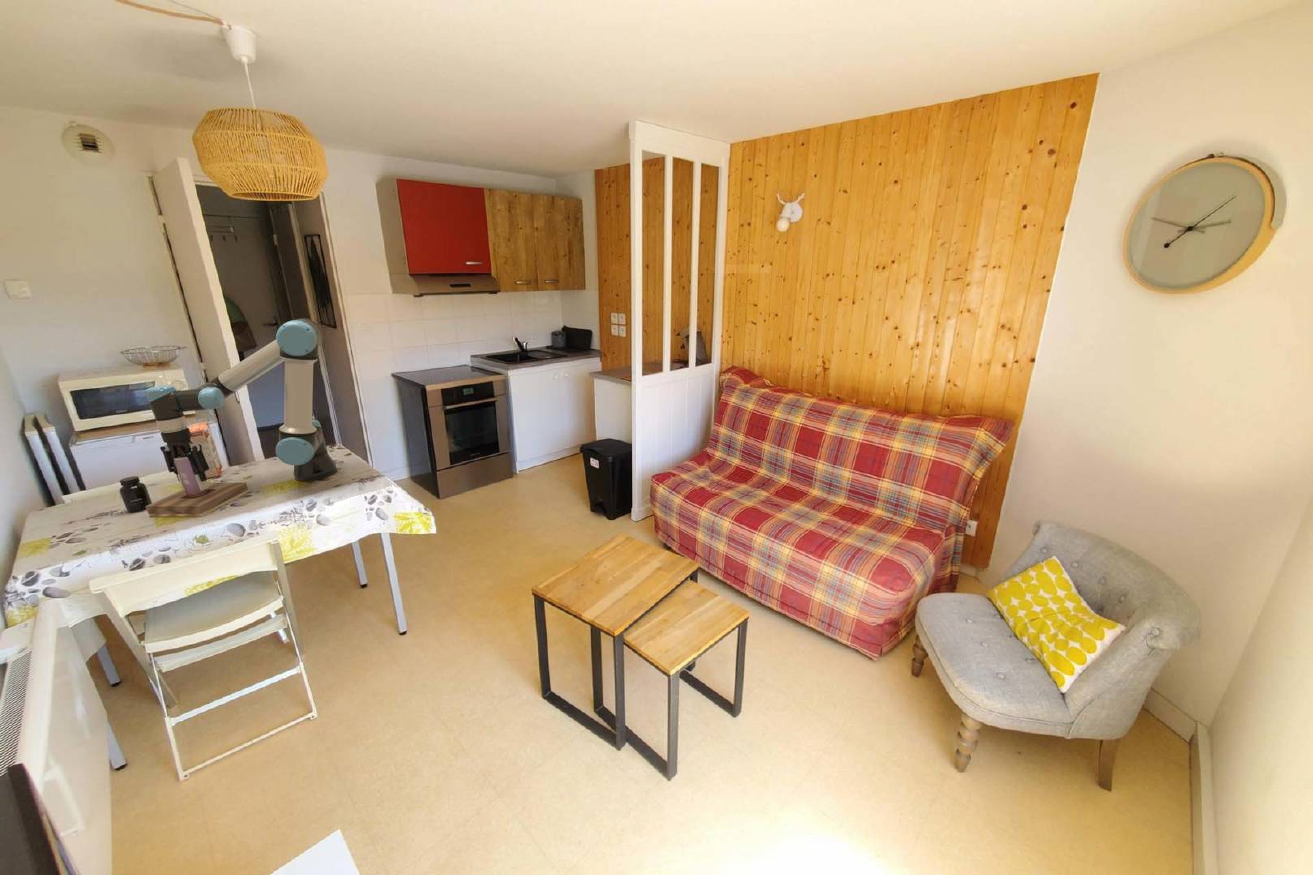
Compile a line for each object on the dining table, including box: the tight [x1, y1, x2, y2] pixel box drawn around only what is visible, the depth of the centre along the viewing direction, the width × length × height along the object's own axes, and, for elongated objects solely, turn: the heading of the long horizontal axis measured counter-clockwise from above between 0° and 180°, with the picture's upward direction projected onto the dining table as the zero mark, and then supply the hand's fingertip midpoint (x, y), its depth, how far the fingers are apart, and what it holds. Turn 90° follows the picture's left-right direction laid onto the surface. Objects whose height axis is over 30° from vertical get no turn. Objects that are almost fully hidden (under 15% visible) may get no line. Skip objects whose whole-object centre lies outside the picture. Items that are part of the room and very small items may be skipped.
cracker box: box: [188, 422, 223, 479], centre depth 212 cm, size 14×6×21 cm, turn 36°
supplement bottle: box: [119, 475, 153, 513], centre depth 182 cm, size 7×7×12 cm
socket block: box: [145, 481, 250, 518], centre depth 186 cm, size 20×20×4 cm
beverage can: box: [174, 453, 208, 497], centre depth 183 cm, size 6×6×15 cm
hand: (196, 489), depth 184 cm, fingers closed on beverage can, 6 cm apart
